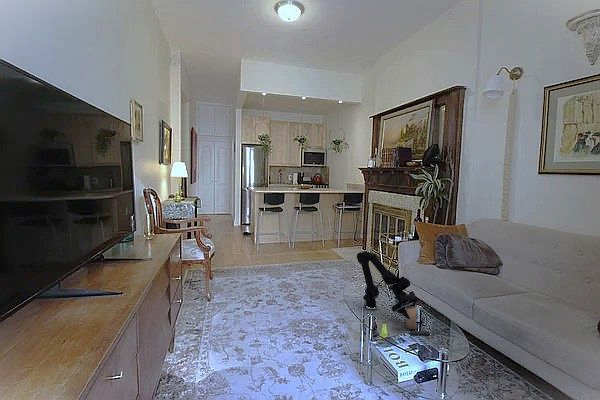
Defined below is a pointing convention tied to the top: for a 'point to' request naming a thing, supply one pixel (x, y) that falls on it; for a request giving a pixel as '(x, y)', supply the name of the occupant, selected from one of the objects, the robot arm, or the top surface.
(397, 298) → the robot arm
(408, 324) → the terracotta jar
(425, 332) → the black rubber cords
